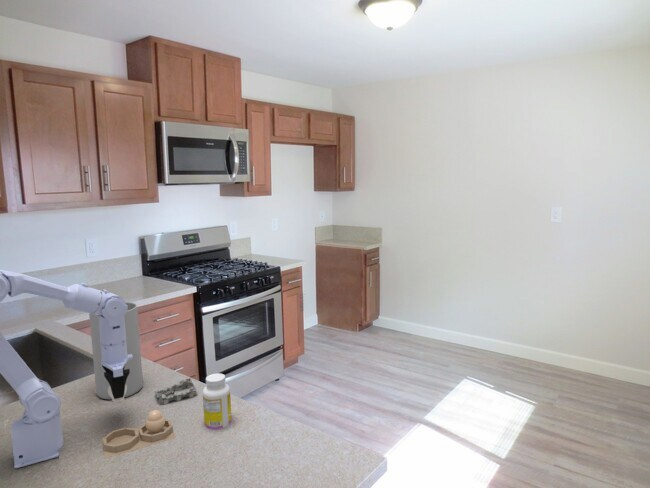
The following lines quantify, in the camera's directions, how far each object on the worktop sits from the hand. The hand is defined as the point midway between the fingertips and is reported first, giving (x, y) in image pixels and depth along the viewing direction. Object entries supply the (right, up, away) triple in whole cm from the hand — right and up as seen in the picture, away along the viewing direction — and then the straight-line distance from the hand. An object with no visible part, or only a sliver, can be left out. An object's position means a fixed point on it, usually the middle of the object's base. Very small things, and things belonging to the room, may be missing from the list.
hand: (117, 393), depth 110 cm
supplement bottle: (+25, -8, 0) cm, 27 cm away
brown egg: (+12, -8, -5) cm, 15 cm away
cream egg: (0, -2, 0) cm, 2 cm away
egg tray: (+8, -9, -7) cm, 14 cm away
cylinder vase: (-8, -6, +19) cm, 22 cm away
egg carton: (+10, -7, +14) cm, 18 cm away
